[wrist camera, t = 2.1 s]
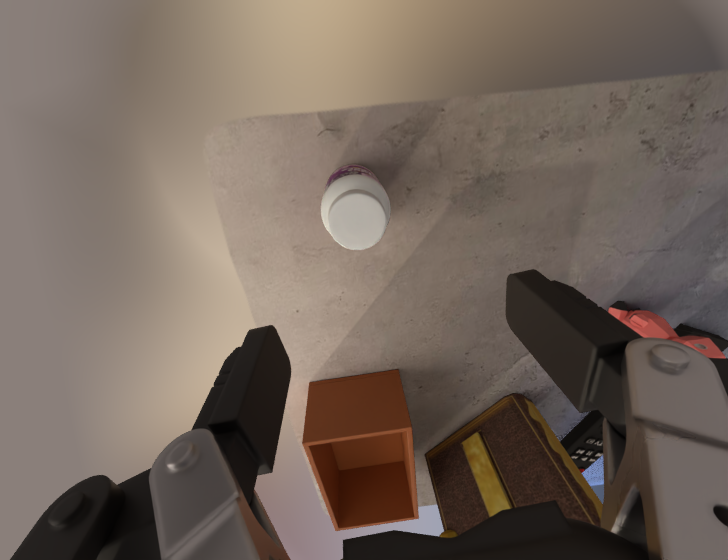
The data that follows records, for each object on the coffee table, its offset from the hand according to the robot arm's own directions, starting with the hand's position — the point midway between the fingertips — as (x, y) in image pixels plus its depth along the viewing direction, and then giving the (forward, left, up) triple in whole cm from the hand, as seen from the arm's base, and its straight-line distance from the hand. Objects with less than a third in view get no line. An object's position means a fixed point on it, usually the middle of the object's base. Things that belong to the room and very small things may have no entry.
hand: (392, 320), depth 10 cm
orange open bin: (+12, -33, -21) cm, 40 cm away
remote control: (+51, -19, -21) cm, 58 cm away
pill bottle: (0, 0, -21) cm, 21 cm away
